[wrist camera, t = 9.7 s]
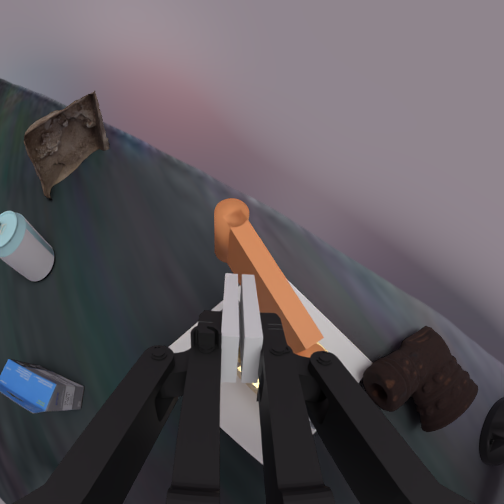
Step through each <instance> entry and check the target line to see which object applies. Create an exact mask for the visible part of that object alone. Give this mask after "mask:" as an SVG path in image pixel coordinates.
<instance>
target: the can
mask: <svg viewBox="0 0 504 504" xmlns="http://www.w3.org/2000/svg"><path fill="white" fill-rule="evenodd" d="M0 258H1V259H2V260H3V261H4V262H6V263H7V264H8V265H10V266H11V267H12V268H13V269H15V270H16V271H17V272H19V273H20V274H22V275H23V276H24V277H26V278H27V279H28V280H30V281H39V280H42V279H43V278H44V277H46V276H47V275H48V273H49V272H50V270H51V268H52V266H53V263H54V251H53V249H52V247H51V246H50V245H49V244H48V243H47V242H46V241H45V240H44V239H43V237H42V236H41V235H40V234H39V233H38V232H37V231H36V230H35V229H34V228H33V227H32V226H31V225H30V223H29V222H28V221H27V220H26V219H25V218H24V217H23V216H22V215H21V214H19V213H14V212H12V211H6V212H4V213H2V214H1V215H0Z"/></svg>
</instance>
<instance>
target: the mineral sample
mask: <svg viewBox="0 0 504 504" xmlns="http://www.w3.org/2000/svg"><path fill="white" fill-rule="evenodd" d="M102 121H103V119H102V115H101V112H100V109H99V103H98V100H97V97H96V94H95V91H94V92H93V93H91V94H88V95H86V96H84V97H82V98H81V99H79V100H76V101H74V102H73V103H71V104H70V105H69V106H67V107H66V108H65V109H63V110H59V111H58V110H56V111H53V112H51V113H50V114H48V115H47V116H45V117H43V118H41V119H39V120H38V121H36V122H35V123H34V124H32V125H31V126H30V127H29V128H28V129H27V131H26V133H25V136H24V144H25V146H26V150H27V154H28V156H29V158H30V159H31V161H32V163H33V165H34V167H35V170H36V173H37V175H38V177H39V179H40V180H41V183H42V188H43V192H44V195H45V196H46V197H48V198H50V191H51V188H52V187H53V186H54V185H55V184H57V183H59V182H60V181H62V180H63V179H65V178H66V177H67V176H69V175H70V174H71V173H72V172H73V171H74V170H75V169H76V168H77V167H78V166H79V165H80V164H81V163H82V161H83V160H84V159H86V158H87V157H88V156H89V155H90V154H91V153H93V152H94V151H96V150H98V149H101V150H104V151H105V150H108V149H109V146H108V145H110V144H109V143H108V138H106V134H105V133H106V132H105V129H104V126H103V122H102Z"/></svg>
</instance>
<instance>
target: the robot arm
mask: <svg viewBox="0 0 504 504" xmlns="http://www.w3.org/2000/svg"><path fill="white" fill-rule="evenodd" d="M239 323H240V358H241V383H258V380H259V385H258V393H257V400H256V401H259V415H260V428H261V442H262V455H263V469H264V482H265V495H266V504H335V501H334V496H333V493H332V491H331V489H330V488H329V487H327V486H325V485H324V482H323V479H322V474H321V470H320V465H319V461H318V456H317V452H316V447H315V443H314V439H313V434H312V430H311V426H310V421H309V418H310V420H311V422H312V424H313V425H314V427H315V429H316V431H317V432H318V434H319V436H320V438H321V439H322V441H323V443H324V444H325V446H326V448H327V450H328V451H329V453H330V455H331V456H332V458H333V460H334V461H335V463H336V465H337V466H338V468H339V470H340V471H341V473H342V475H343V476H344V478H345V480H346V481H347V483H348V485H349V486H350V488H351V490H352V491H353V493H354V494H355V496H356V498H357V499H358V501H359V503H360V504H474V503H472V502H471V501H469V500H467V499H465V498H463V497H462V496H460V495H458V494H456V493H455V492H453V491H451V490H449V489H448V488H446V487H444V486H443V485H441V484H439V482H438V481H437V480H436V479H435V477H434V476H433V475H432V474H431V472H430V471H429V470H428V469H427V468H426V466H425V465H424V464H423V463H422V461H421V460H420V459H419V458H418V456H417V455H416V454H415V453H414V451H413V450H412V449H411V448H410V446H409V445H408V444H407V443H406V442H405V440H404V439H403V438H402V437H401V435H400V434H399V433H398V432H397V430H396V429H395V428H394V427H393V425H392V424H391V423H390V422H389V420H388V419H387V418H386V417H385V416H384V414H383V413H382V412H381V411H380V409H379V408H378V407H377V406H376V404H375V403H374V402H373V401H372V399H371V398H370V397H369V396H368V394H367V393H366V392H365V391H364V390H363V388H362V387H361V386H360V385H359V383H358V382H357V381H356V380H355V378H354V377H353V376H352V375H351V373H350V372H349V371H348V370H347V368H346V367H345V366H344V365H343V364H342V362H341V361H340V360H339V359H338V357H337V356H335V355H334V354H333V353H330V352H327V351H317V352H314V353H313V354H312V355H311V356H310V358H309V357H304V356H300V355H297V354H295V353H293V350H292V349H291V347H290V346H288V345H287V342H286V338H285V334H284V330H283V326H282V322H281V318H280V317H279V316H278V315H277V314H276V313H261V312H259V305H258V298H257V291H256V284H255V277H254V275H248V274H242V279H241V294H240V308H239V305H238V274H229V273H226V274H225V287H224V300H223V311H207V310H204V311H203V312H202V313H201V314H200V315H199V320H198V326H196V327H194V328H193V329H192V330H191V332H190V333H191V348H190V349H188V350H186V351H184V352H179V353H173V351H172V350H171V349H170V348H168V347H166V346H160V345H158V346H152V347H150V348H148V349H147V350H146V351H145V352H144V353H143V354H142V356H141V357H140V358H139V359H138V361H137V362H136V363H135V364H134V366H133V367H132V368H131V370H130V371H129V372H128V373H127V375H126V376H125V377H124V379H123V380H122V381H121V383H120V384H119V385H118V386H117V388H116V389H115V390H114V392H113V393H112V394H111V396H110V397H109V398H108V399H107V401H106V402H105V403H104V405H103V406H102V407H101V409H100V410H99V411H98V413H97V414H96V415H95V417H94V418H93V419H92V421H91V422H90V423H89V425H88V426H87V427H86V429H85V430H84V431H83V433H82V434H81V435H80V437H79V438H78V439H77V441H76V442H75V443H74V445H73V446H72V447H71V449H70V450H69V452H68V453H67V454H66V456H65V457H64V458H63V460H62V461H61V462H60V464H59V465H58V467H57V468H56V469H55V471H54V472H53V473H52V475H51V476H50V478H49V479H48V480H47V482H46V483H45V484H44V485H43V486H41V487H40V488H38V489H36V490H35V491H33V492H31V493H30V494H28V495H26V496H25V497H23V498H21V499H19V500H18V501H16V502H14V503H13V504H122V503H123V502H124V500H125V498H126V496H127V494H128V492H129V490H130V488H131V487H132V485H133V483H134V481H135V479H136V477H137V475H138V473H139V472H140V470H141V468H142V466H143V464H144V462H145V460H146V458H147V456H148V455H149V453H150V451H151V449H152V447H153V445H154V443H155V441H156V439H157V438H158V436H159V434H160V432H161V430H162V428H163V426H164V424H165V422H166V421H167V419H168V417H169V415H170V413H171V411H172V409H173V407H174V405H175V404H176V402H177V400H178V396H183V400H182V407H181V414H180V421H179V428H178V436H177V443H176V451H175V459H174V468H173V476H172V484H171V487H170V488H169V489H168V492H167V498H166V504H220V384H221V382H231V383H236V377H237V362H238V348H239ZM480 456H481V459H482V461H483V462H484V463H485V464H487V465H500V464H503V463H504V398H501V399H500V400H498V401H497V402H496V403H495V404H494V406H493V407H492V409H491V410H490V412H489V414H488V416H487V418H486V420H485V423H484V426H483V429H482V433H481V438H480Z"/></svg>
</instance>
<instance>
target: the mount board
mask: <svg viewBox="0 0 504 504" xmlns="http://www.w3.org/2000/svg"><path fill="white" fill-rule="evenodd" d="M287 281H288V280H287ZM288 282H289V281H288ZM289 284H290V285H291V287H292V288H293V290H294V291H295V293H296V295H297V296H298V298H299V299H300V301H301V302H302V304H303V305H304V307H305V309H306V310H307V312H308V313H309V315H310V316H311V318H312V319H313V321H314V323H315V324H316V326H317V327H318V329H319V330H320V332H321V334H322V335H323V337H324V338H323V339H321V340H320V341H318V342H319V343H320V344H321V345H322V346H323V347H324V348H325V349H326V350H327V351H328V352H330V353H333V354H334V355H335V356H337V357H338V359H339V360H340V361H341V362H342V364H343V365H344V366H345V367H346V368H347V370H348V371H349V372H350V373H351V375H352V376H353V377H354V378H355V380H356V381H357V382H358V383H359V382H360V380H361V379H362V378H363V373H364V371H365V370H366V369H367V368H368V367H369V366H371V364H372V362H371V361H370V360H369V359H368V358H367V357H366V356H365V355H364V354H363V353H362V352H361V351H360V350H359V349H358V348H357V347H356V346H355V345H354V344H353V343H352V342H351V341H350V340H349V339H348V338H347V337H346V336H345V335H344V334H342V333H341V332H340V331H339V330H338V329H337V328H336V327H335V326H334V325H333V324H332V323H331V322H330V321H329V320H328V319H327V318H326V317H325V316H324V315H323V314H322V313H321V312H320V311H319V310H318V309H317V308H316V307H315V306H314V305H313V304H312V303H311V302H310V301H309V300H308V299H307V298H306V297H305V296H304V295H302V294H301V293H300V292H299V291H298V290H297V289H296V288H295V287H294V286H293V285H292V284H291V283H290V282H289ZM240 294H241V285H240V286H239V287H238V300H239V301H240ZM222 309H223V301H222V302H220V303H219V304H218V305H217V306H216V307H215V308H213V309H212V310H211V311H221V310H222ZM196 326H198V322H197V323H196V324H195V325H194V326H193V327H191V328H190V329H189V330H188V331H187V332H186V333H184V334H183V335H182V336H181V337H180V338H179V339H177V340H176V341H175V342H174V343H173V344H172V345H170V346H169V347H168V348H170V349H171V350H172V351H173V353H179V352H184V351H186V350H188V349H190V348H191V333H190V332H191V330H192V329H193V328H194V327H196ZM240 365H241V364H240V363H239V362H237V367H239V366H240ZM256 400H257V394H256V393H254V392H253V391H252V390H251V389H250V388H249V387H248V386H247V385H246V384H245V383H241V379H240V378H239V377H238V376H237V377H236V383H231V382H221V384H220V427H221V428H222V429H223V430H224V431H225V432H226V433H227V434H228V435H229V436H230V437H232V438H233V439H234V440H235V441H236V442H237V443H238V444H239V445H240V446H242V447H243V448H244V449H245V450H246V451H247V452H248V453H250V454H251V455H252V456H253V457H254V458H255V459H257V460H258V461H259V462H260V463H261V464H263V455H262V442H261V428H260V415H259V401H256ZM311 430H312V434H314V433H315V432H316V429H315V430H313V429H311Z"/></svg>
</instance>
